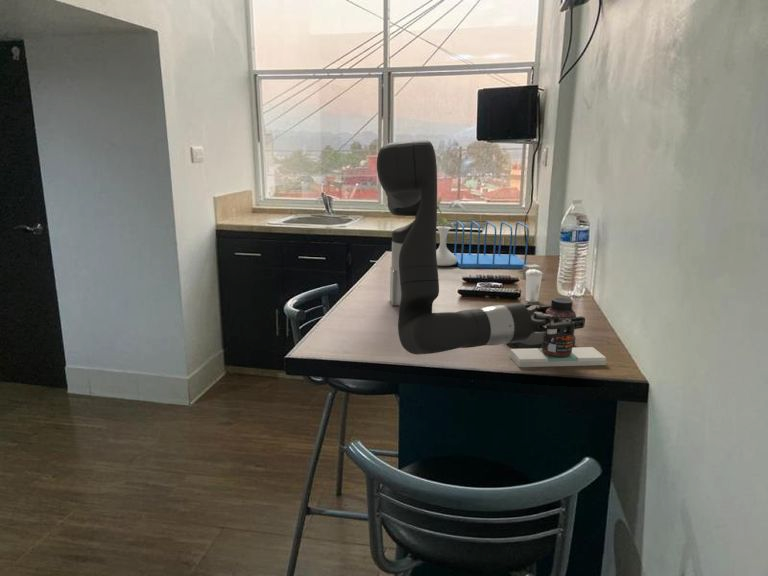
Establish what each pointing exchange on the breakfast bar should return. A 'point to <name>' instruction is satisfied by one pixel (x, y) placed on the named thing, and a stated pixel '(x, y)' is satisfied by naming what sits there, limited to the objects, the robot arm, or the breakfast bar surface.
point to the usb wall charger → (527, 267)
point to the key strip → (557, 358)
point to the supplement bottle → (562, 310)
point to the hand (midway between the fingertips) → (568, 315)
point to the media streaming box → (532, 342)
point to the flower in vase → (444, 244)
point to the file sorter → (490, 259)
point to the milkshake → (533, 284)
